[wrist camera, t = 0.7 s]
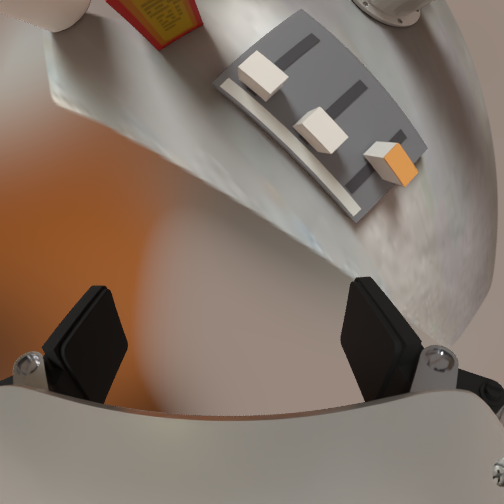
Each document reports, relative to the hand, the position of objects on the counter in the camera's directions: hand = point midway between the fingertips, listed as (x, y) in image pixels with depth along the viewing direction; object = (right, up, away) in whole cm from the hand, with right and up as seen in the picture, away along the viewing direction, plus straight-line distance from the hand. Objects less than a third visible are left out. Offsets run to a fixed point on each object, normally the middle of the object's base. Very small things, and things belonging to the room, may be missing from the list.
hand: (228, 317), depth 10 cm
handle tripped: (+16, +13, +19) cm, 28 cm away
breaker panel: (+10, +20, +19) cm, 29 cm away
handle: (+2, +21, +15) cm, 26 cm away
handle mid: (+8, +16, +17) cm, 25 cm away
